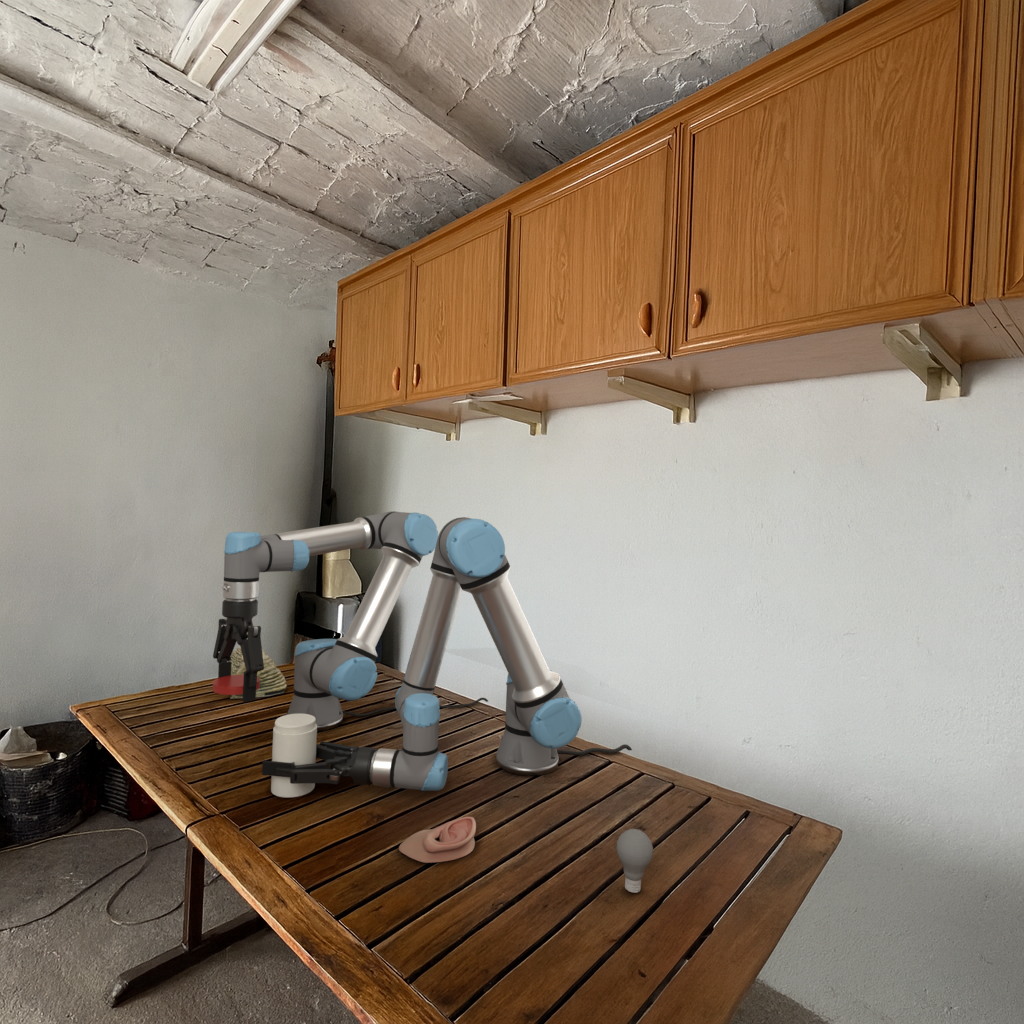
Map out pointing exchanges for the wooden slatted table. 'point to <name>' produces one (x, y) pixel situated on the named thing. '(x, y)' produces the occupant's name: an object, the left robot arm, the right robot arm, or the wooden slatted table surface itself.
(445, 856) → the anatomical model
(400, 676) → the wooden slatted table surface
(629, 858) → the light bulb
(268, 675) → the fossil
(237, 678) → the lid
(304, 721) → the jar
